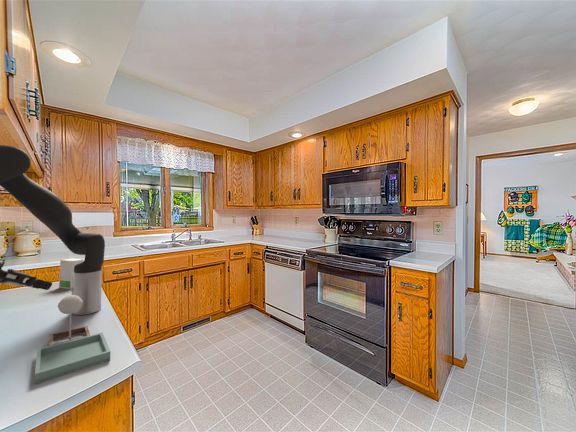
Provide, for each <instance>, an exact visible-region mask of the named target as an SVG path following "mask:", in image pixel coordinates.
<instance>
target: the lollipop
mask: <svg viewBox="0 0 576 432" xmlns="http://www.w3.org/2000/svg"><path fill="white" fill-rule="evenodd" d="M82 303H83V300H82V299H81V298H80V297H79V296H76V295H72V294H70V295H67V296H64V297H63V298H62V299H61V300H59V302H58V304H57V308H58V311H59V312H60V313H62V314H63V315H69V317H68V318H69V324H68V325H69V326H68V327H69V328H68V330H69V337H68V340H72V336H71V329H72V315H73V313H74V312H76V311H78V310H79V309H80V308H81V306H82Z"/></svg>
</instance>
